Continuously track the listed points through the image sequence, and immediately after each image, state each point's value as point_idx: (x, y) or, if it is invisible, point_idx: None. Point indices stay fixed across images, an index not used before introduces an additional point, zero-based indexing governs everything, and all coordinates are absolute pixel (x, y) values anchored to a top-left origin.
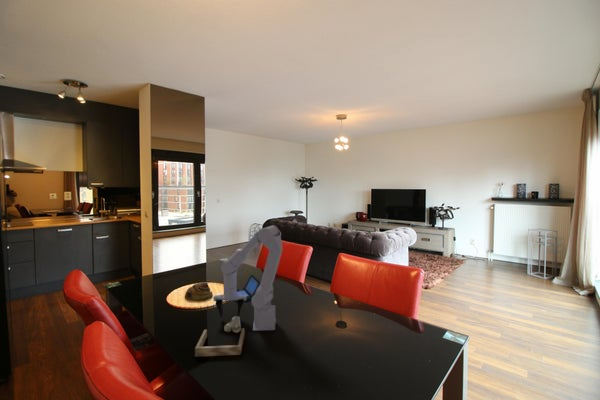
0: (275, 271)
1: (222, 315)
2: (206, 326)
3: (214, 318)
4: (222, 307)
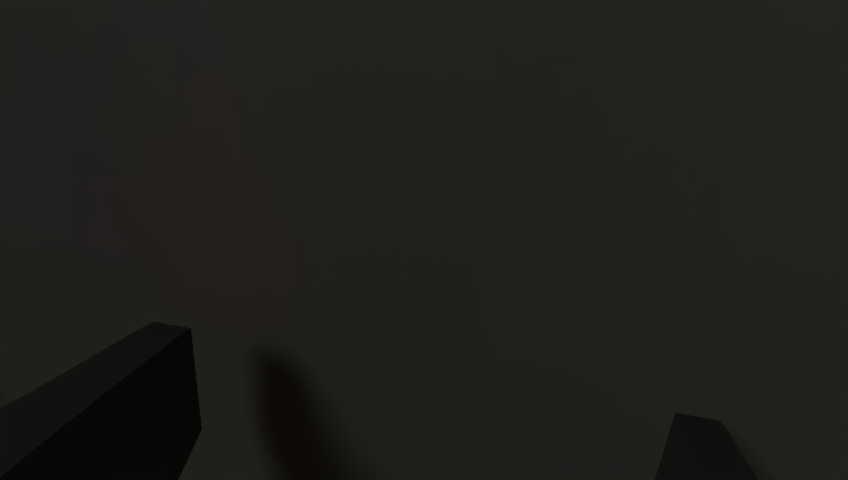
0: None
1: (193, 367)
2: None
3: (26, 188)
4: (30, 472)
